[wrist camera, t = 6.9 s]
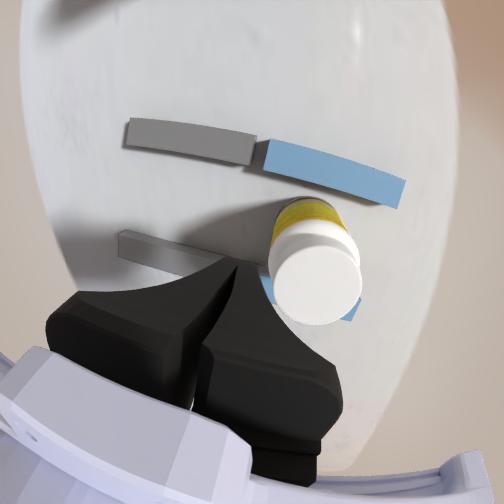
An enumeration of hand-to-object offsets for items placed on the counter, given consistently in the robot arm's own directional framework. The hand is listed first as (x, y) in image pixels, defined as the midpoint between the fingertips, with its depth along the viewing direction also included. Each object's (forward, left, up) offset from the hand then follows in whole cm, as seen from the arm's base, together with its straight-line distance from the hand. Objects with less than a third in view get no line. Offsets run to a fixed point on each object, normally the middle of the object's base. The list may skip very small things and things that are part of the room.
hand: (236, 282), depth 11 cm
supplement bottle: (0, -3, -10) cm, 10 cm away
